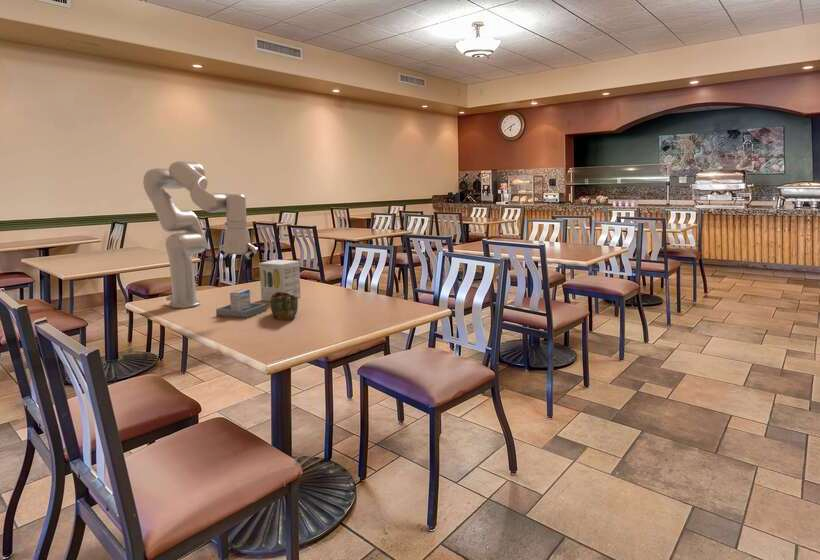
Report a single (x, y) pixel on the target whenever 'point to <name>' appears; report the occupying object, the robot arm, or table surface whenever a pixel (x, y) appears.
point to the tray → (249, 313)
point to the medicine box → (240, 300)
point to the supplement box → (279, 278)
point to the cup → (284, 305)
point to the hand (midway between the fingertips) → (238, 267)
